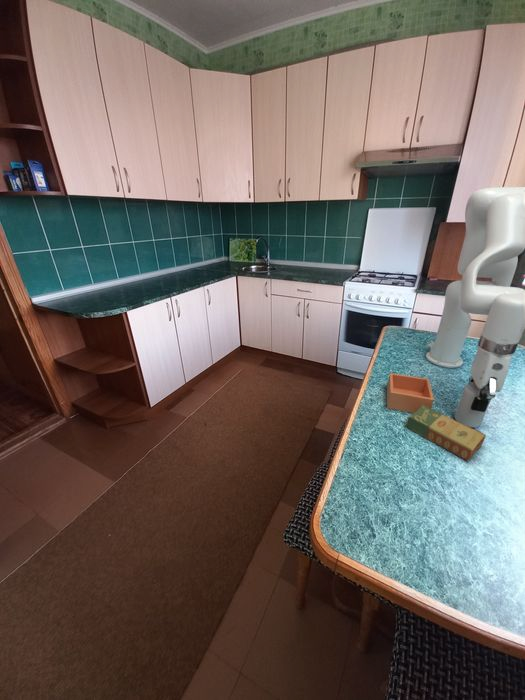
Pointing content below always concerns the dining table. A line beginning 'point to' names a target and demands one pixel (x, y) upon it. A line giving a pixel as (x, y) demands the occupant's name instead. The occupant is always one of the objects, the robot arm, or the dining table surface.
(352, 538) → the dining table surface
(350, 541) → the dining table surface
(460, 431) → the carton
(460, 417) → the beverage can
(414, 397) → the bin
